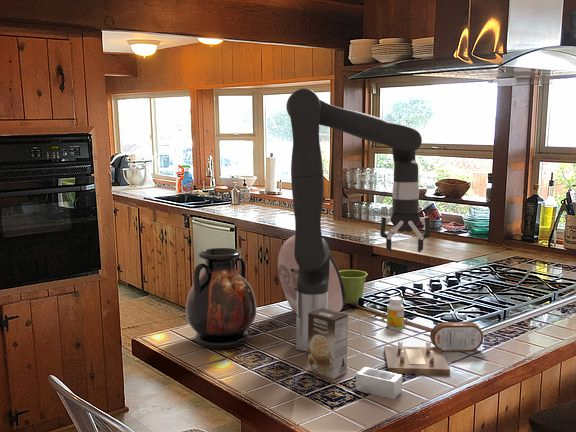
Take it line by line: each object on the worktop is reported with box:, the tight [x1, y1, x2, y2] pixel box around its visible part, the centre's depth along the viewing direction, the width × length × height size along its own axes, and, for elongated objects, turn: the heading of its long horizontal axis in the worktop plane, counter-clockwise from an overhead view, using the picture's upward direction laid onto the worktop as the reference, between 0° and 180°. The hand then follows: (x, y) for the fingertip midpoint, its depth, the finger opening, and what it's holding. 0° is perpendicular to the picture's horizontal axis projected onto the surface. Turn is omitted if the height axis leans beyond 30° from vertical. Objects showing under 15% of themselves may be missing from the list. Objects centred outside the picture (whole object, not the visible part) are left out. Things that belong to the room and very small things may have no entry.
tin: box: [429, 321, 484, 353], centre depth 170 cm, size 15×3×8 cm, turn 91°
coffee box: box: [307, 308, 349, 380], centre depth 155 cm, size 9×6×16 cm
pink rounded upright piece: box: [277, 234, 346, 314], centre depth 201 cm, size 22×20×30 cm
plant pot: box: [339, 269, 369, 304], centre depth 219 cm, size 12×12×11 cm
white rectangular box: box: [355, 366, 403, 400], centre depth 144 cm, size 5×10×5 cm, turn 58°
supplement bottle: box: [386, 296, 405, 330], centre depth 191 cm, size 5×5×10 cm
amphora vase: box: [185, 247, 257, 350], centre depth 179 cm, size 22×22×28 cm
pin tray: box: [383, 340, 451, 376], centre depth 162 cm, size 16×16×4 cm
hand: (404, 251), depth 173 cm, fingers open, 8 cm apart
